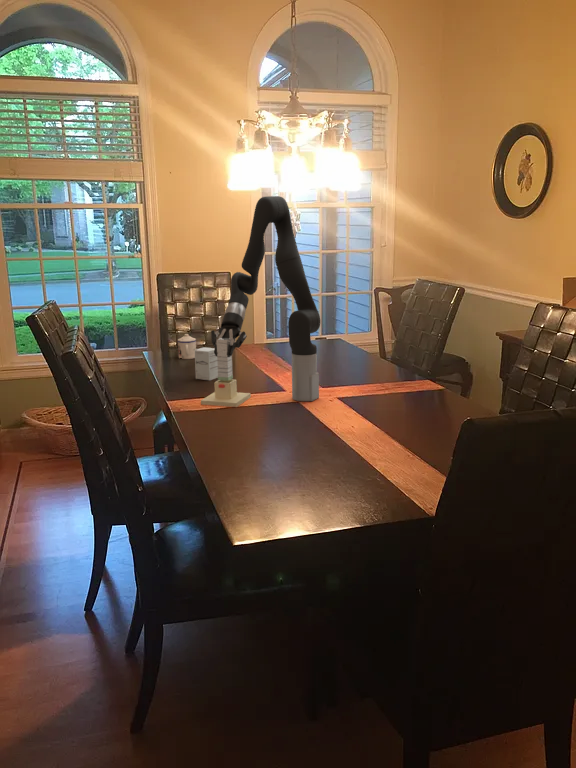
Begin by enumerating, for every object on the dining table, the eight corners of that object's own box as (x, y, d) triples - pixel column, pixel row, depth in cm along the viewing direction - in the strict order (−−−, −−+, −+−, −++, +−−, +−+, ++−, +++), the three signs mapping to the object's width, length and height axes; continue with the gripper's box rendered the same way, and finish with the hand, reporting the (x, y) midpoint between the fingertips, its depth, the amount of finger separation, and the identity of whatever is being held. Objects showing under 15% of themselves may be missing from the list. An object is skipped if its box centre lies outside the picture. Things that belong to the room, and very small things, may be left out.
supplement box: (195, 379, 275) (193, 349, 272) (205, 375, 281) (203, 346, 278) (209, 381, 272) (208, 351, 269) (219, 377, 278) (218, 348, 275)
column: (232, 378, 240) (231, 338, 237) (228, 380, 237) (226, 340, 233) (222, 377, 242) (220, 337, 238) (217, 380, 238) (216, 339, 234)
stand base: (250, 397, 246) (250, 377, 244) (236, 407, 233) (236, 386, 231) (216, 394, 250) (215, 375, 248) (200, 404, 237) (200, 384, 235)
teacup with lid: (178, 356, 323) (177, 332, 320) (197, 355, 324) (195, 332, 322) (177, 361, 312) (176, 337, 309) (196, 360, 313) (195, 336, 310)
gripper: (213, 310, 242) (200, 348, 234) (248, 311, 238) (237, 350, 230) (219, 322, 249) (207, 360, 240) (254, 324, 244) (243, 362, 236)
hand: (222, 355), depth 235 cm, fingers closed on column, 4 cm apart
